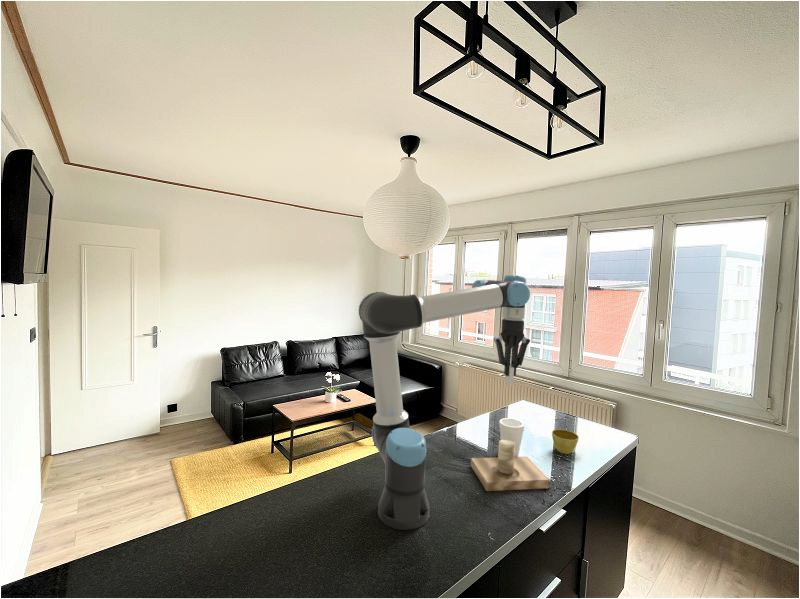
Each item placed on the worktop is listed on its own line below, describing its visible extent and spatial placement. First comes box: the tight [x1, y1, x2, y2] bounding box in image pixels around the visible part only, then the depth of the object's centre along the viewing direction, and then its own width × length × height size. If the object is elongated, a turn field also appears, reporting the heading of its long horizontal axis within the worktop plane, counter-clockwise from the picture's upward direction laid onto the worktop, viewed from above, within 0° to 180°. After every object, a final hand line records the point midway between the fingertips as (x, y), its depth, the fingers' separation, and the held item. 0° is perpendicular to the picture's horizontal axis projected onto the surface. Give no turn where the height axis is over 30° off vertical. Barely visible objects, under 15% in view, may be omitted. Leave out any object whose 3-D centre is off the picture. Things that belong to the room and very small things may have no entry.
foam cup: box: [498, 417, 525, 457], centre depth 148 cm, size 10×9×13 cm
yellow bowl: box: [551, 428, 580, 455], centre depth 152 cm, size 10×10×7 cm
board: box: [470, 455, 550, 492], centre depth 131 cm, size 22×16×3 cm
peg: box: [497, 439, 515, 476], centre depth 129 cm, size 6×6×13 cm
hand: (509, 384), depth 132 cm, fingers closed
